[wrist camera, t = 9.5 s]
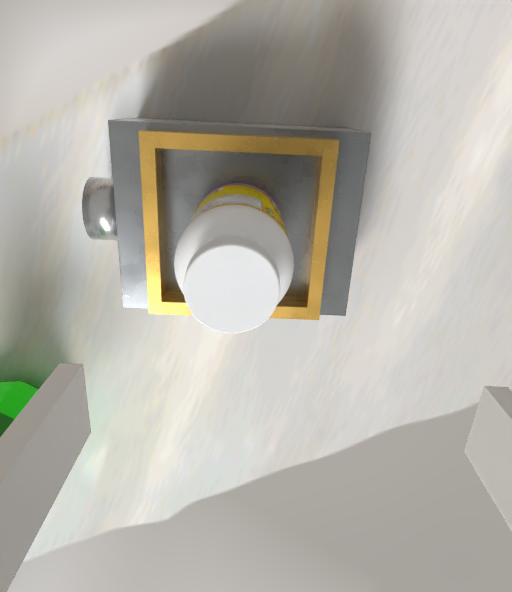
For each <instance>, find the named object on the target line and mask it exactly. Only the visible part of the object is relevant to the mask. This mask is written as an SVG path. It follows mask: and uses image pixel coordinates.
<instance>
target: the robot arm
mask: <svg viewBox="0 0 512 592" xmlns="http://www.w3.org/2000/svg"><path fill="white" fill-rule="evenodd" d="M90 433H91V428H90V420H89V411H88V402H87V394H86V385H85V376H84V368H83V364H68V363H59V364H58V365H57V367H56V368H55V369H54V370H53V372H52V373H51V374H50V375H49V377H48V378H47V379H46V381H45V382H44V383H43V384H42V386H41V387H40V388H39V389H38V391H37V392H36V393H35V394H34V396H33V397H32V398H31V399H30V401H29V402H28V403H27V404H26V406H25V407H24V408H23V409H22V411H21V412H20V413H19V414H18V416H17V417H16V418H15V419H14V421H13V422H12V423H11V425H10V426H9V427H8V428H7V430H6V431H5V432H4V433H3V435H2V436H1V437H0V592H7V590H8V588H9V586H10V584H11V582H12V580H13V579H14V577H15V575H16V573H17V571H18V569H19V567H20V565H21V564H22V562H23V560H24V558H25V556H26V554H27V552H28V550H29V548H30V546H31V545H32V543H33V541H34V539H35V537H36V535H37V533H38V531H39V529H40V528H41V526H42V524H43V522H44V520H45V518H46V516H47V514H48V512H49V510H50V509H51V507H52V505H53V503H54V501H55V499H56V497H57V495H58V493H59V492H60V490H61V488H62V486H63V484H64V482H65V480H66V478H67V476H68V474H69V473H70V471H71V469H72V467H73V465H74V463H75V461H76V459H77V457H78V455H79V454H80V452H81V450H82V448H83V446H84V444H85V442H86V440H87V438H88V437H89V435H90ZM464 452H465V454H466V455H467V457H468V459H469V461H470V462H471V464H472V466H473V467H474V469H475V471H476V472H477V474H478V476H479V478H480V479H481V481H482V483H483V484H484V486H485V488H486V489H487V491H488V493H489V494H490V496H491V498H492V499H493V501H494V503H495V504H496V506H497V508H498V510H499V511H500V513H501V515H502V516H503V518H504V520H505V521H506V523H507V525H508V526H509V528H510V530H511V531H512V392H511V391H510V389H509V388H508V387H493V386H484V389H483V392H482V396H481V399H480V402H479V405H478V408H477V412H476V415H475V418H474V421H473V424H472V428H471V431H470V434H469V437H468V440H467V443H466V447H465V450H464Z"/></svg>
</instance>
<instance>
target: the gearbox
mask: <svg viewBox="0 0 512 592" xmlns="http://www.w3.org/2000/svg"><path fill="white" fill-rule="evenodd" d="M108 125H109V137H110V149H111V162H112V174H113V178H99V177H90V178H89V179H88V180H87V182H86V184H85V187H84V192H83V199H82V212H83V220H84V225H85V228H86V231H87V233H88V235H89V236H90V238H92V239H103V240H118V248H119V260H120V272H121V285H122V297H123V307H129V308H149V314H175V315H193V314H192V313H191V312H190V310H189V308H188V306H187V304H186V301H185V298H184V294H183V293H182V291H181V289H180V287H179V285H178V282H177V279H176V275H175V268H174V259H175V252H176V248H177V245H178V242H179V240H180V238H181V236H182V234H183V232H184V230H185V229H186V227H187V226H188V224H189V222H190V220H191V218H192V217H193V215H194V213H195V211H196V209H197V208H198V206H199V204H200V203H201V202H202V200H203V199H204V198H205V197H206V196H207V195H208V194H209V193H211V192H212V191H213V190H215V189H217V188H219V187H221V186H224V185H228V184H235V183H242V184H248V185H252V186H255V187H257V188H259V189H261V190H262V191H264V192H265V193H266V194H268V195H269V196H270V197H271V198H272V199H273V201H274V202H275V203H276V205H277V207H278V208H279V210H280V213H281V215H282V218H283V221H284V224H285V228H286V231H287V235H288V238H289V241H290V244H291V248H292V252H293V259H294V270H293V276H292V280H291V283H290V286H289V288H288V290H287V292H286V294H285V295H284V297H283V298H282V300H281V301H280V302H279V303H278V304H277V306H276V308H275V310H274V312H273V314H272V315H271V316H270V317H269V318H281V319H308V320H319V316H320V315H341V316H346V309H347V302H348V294H349V287H350V280H351V273H352V266H353V259H354V251H355V244H356V237H357V230H358V223H359V216H360V208H361V201H362V194H363V187H364V180H365V173H366V165H367V158H368V151H369V144H370V137H371V133H370V132H365V131H360V130H355V129H350V128H334V127H314V126H293V125H273V124H252V123H231V122H211V121H190V120H170V119H149V118H129V119H116V120H108Z"/></svg>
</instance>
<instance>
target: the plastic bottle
mask: <svg viewBox="0 0 512 592" xmlns="http://www.w3.org/2000/svg"><path fill="white" fill-rule="evenodd" d="M37 391H38V388H35V387H33V386H31V385H29V384H27V383H25V382H22V381H12V382H0V437H1V436H2V435H3V433H4V432H5V431H6V430H7V428H8V427H9V426H10V425H11V423H12V422H13V421H14V419H15V418H16V417H17V416H18V414H19V413H20V412H21V411H22V409H23V408H24V407H25V406H26V404H27V403H28V402H29V401H30V399H31V398H32V397H33V396H34V394H35V393H36V392H37Z"/></svg>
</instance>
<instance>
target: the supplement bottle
mask: <svg viewBox="0 0 512 592" xmlns="http://www.w3.org/2000/svg"><path fill="white" fill-rule="evenodd" d="M174 268H175V275H176V279H177V282H178V285H179V287H180V289H181V291H182V293H183V294H184V298H185V301H186V304H187V306H188V308H189V310H190V312H191V313H192V314H193V316H194V317H195V318H196V319H197V320H198V321H199V322H200V323H202V324H203V325H205V326H206V327H208V328H210V329H212V330H215V331H218V332H222V333H230V334H231V333H242V332H246V331H250V330H252V329H254V328H257V327H258V326H260V325H261V324H263V323H264V322H265V321H266V320H267V319H268V318H269V317H270V316H271V315H272V314H273V312H274V310H275V308H276V306H277V304H278V303H279V302H280V301H281V300H282V298H283V297H284V295H285V294H286V292H287V290H288V288H289V286H290V283H291V280H292V276H293V270H294V259H293V252H292V248H291V244H290V241H289V238H288V235H287V231H286V228H285V224H284V221H283V218H282V215H281V213H280V210H279V208H278V207H277V205H276V203H275V202H274V201H273V199H272V198H271V197H270V196H269V195H268V194H266V193H265V192H264V191H262V190H261V189H259V188H257V187H255V186H252V185H248V184H242V183H235V184H228V185H224V186H221V187H219V188H217V189H215V190H213V191H212V192H211V193H209V194H208V195H207V196H206V197H205V198H204V199H203V200H202V202H201V203H200V204H199V206H198V208H197V209H196V211H195V213H194V215H193V217H192V218H191V220H190V222H189V224H188V226H187V227H186V229H185V230H184V232H183V234H182V236H181V238H180V240H179V242H178V245H177V248H176V252H175V259H174Z"/></svg>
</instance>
